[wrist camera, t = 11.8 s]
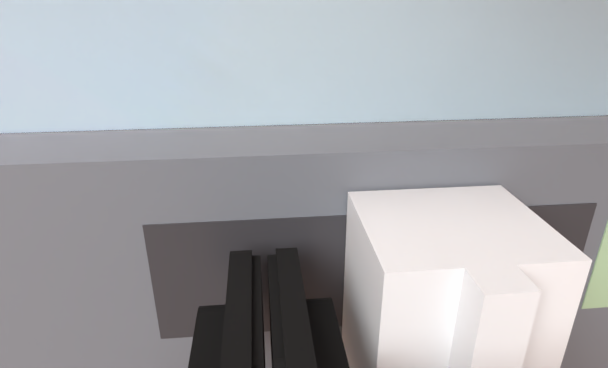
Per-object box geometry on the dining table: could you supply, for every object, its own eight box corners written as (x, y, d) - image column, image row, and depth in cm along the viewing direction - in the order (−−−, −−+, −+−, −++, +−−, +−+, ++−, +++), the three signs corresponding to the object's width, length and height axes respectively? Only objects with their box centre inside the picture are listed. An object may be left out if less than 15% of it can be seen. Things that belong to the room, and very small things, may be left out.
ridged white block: (501, 185, 12) (623, 286, 8) (472, 336, 14) (558, 476, 10) (348, 191, 11) (397, 301, 8) (341, 346, 13) (377, 495, 10)
